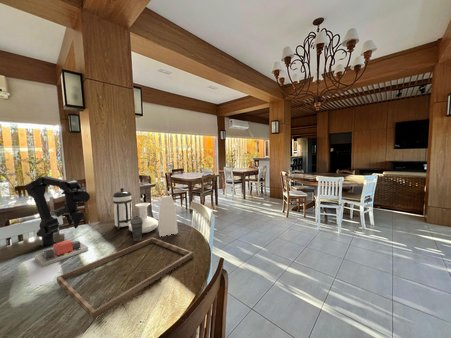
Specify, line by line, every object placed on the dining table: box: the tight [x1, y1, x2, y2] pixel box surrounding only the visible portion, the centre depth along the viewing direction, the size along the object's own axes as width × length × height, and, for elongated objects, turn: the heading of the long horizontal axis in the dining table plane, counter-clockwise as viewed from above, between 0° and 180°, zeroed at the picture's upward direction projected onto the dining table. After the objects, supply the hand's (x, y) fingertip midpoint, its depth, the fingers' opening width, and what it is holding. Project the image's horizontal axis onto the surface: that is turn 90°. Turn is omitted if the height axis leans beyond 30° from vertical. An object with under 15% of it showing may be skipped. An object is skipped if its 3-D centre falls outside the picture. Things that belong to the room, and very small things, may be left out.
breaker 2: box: [71, 240, 81, 249], centre depth 112 cm, size 3×3×3 cm
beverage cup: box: [131, 209, 143, 242], centre depth 126 cm, size 7×7×20 cm
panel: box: [34, 242, 89, 268], centre depth 108 cm, size 13×20×2 cm, turn 146°
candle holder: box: [128, 202, 159, 234], centre depth 142 cm, size 20×20×19 cm
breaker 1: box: [43, 248, 54, 258], centre depth 102 cm, size 3×3×3 cm
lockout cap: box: [52, 239, 73, 255], centre depth 107 cm, size 7×7×5 cm
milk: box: [157, 195, 179, 238], centre depth 138 cm, size 12×12×26 cm
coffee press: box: [112, 187, 133, 231], centre depth 149 cm, size 17×16×30 cm
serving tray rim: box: [56, 236, 194, 320], centre depth 94 cm, size 35×48×2 cm
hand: (72, 226), depth 118 cm, fingers open, 9 cm apart
